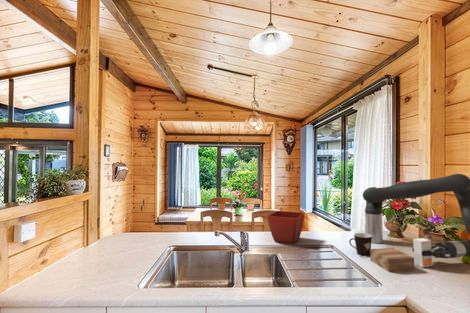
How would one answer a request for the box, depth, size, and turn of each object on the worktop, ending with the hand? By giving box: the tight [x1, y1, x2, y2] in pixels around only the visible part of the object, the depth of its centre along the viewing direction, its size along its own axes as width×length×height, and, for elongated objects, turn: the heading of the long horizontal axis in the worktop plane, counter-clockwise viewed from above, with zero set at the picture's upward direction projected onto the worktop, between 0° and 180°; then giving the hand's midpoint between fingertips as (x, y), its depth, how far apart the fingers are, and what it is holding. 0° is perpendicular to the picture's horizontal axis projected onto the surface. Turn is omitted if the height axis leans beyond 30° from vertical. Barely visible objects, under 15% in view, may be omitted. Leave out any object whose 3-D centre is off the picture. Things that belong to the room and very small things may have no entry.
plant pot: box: [266, 210, 305, 245], centre depth 167 cm, size 19×19×17 cm
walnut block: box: [369, 247, 416, 273], centre depth 123 cm, size 14×12×6 cm
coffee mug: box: [348, 232, 372, 257], centre depth 140 cm, size 12×9×10 cm
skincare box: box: [412, 237, 433, 268], centre depth 122 cm, size 6×4×12 cm
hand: (417, 251), depth 122 cm, fingers closed on skincare box, 4 cm apart
